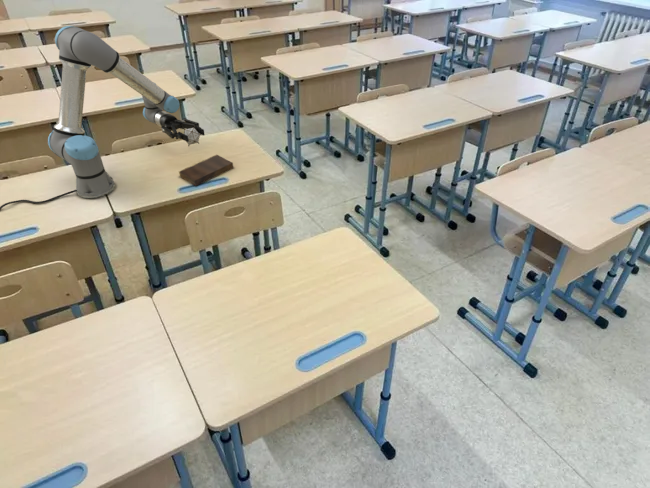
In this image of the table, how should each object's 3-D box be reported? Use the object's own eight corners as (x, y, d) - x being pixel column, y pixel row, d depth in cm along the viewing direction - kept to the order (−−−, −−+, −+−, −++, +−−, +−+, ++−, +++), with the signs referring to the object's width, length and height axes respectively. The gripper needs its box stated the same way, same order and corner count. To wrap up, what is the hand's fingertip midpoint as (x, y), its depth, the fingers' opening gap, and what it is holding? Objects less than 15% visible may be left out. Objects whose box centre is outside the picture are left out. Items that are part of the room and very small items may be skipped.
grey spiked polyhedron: (197, 152, 214) (199, 141, 205) (179, 146, 212) (180, 135, 203) (202, 136, 217) (204, 125, 208) (184, 130, 215) (185, 119, 206)
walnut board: (195, 186, 203) (194, 180, 201) (179, 176, 209) (178, 171, 207) (233, 168, 216) (232, 162, 214) (217, 159, 222) (216, 154, 220)
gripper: (186, 121, 226) (215, 135, 215) (149, 135, 214) (177, 151, 202) (183, 107, 221) (212, 120, 210) (145, 120, 209) (174, 135, 198)
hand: (195, 135), depth 206 cm, fingers closed on grey spiked polyhedron, 8 cm apart
